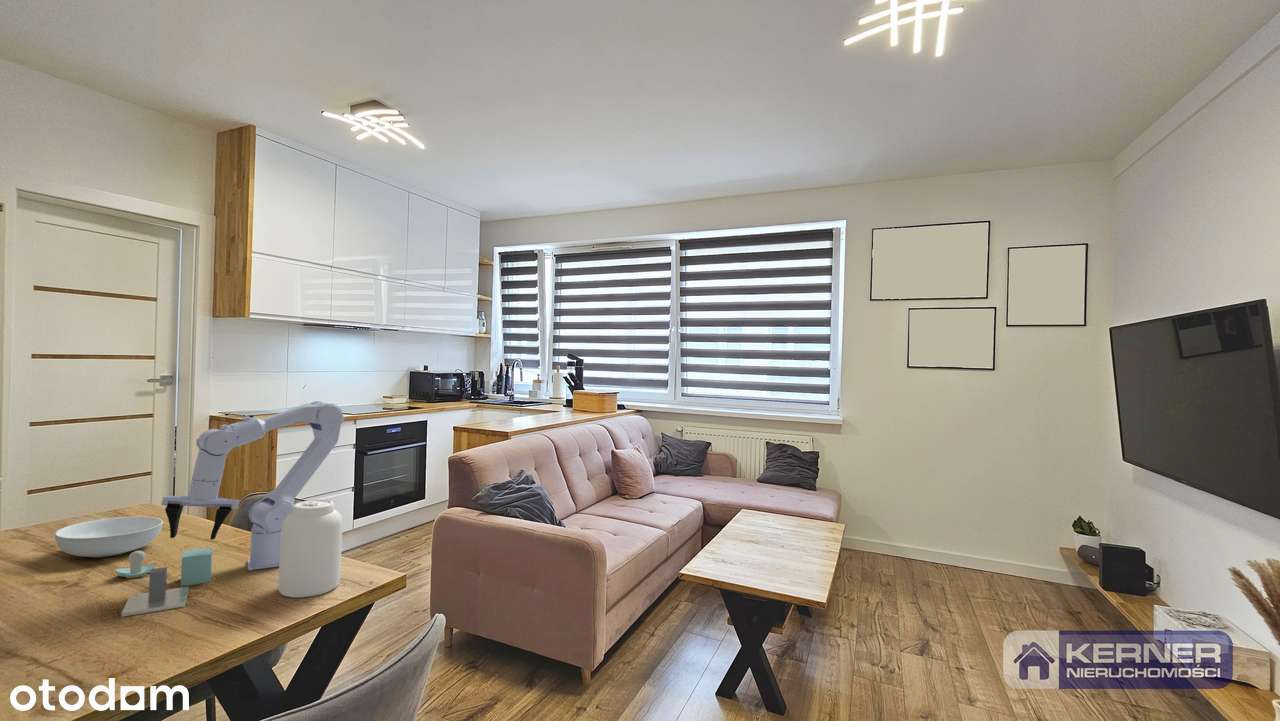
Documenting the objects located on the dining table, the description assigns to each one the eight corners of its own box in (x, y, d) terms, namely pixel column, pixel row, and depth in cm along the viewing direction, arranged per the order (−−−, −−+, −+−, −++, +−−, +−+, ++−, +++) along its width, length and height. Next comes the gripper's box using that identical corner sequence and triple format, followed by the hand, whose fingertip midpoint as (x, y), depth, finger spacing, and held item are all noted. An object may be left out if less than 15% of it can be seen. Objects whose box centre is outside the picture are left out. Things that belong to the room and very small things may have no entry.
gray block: (188, 590, 128) (190, 559, 128) (184, 606, 120) (186, 573, 120) (130, 598, 123) (131, 566, 123) (121, 616, 114) (123, 582, 114)
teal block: (211, 574, 138) (212, 547, 138) (210, 582, 133) (211, 554, 133) (182, 578, 134) (184, 550, 135) (180, 586, 130) (182, 557, 130)
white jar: (264, 593, 129) (269, 505, 129) (313, 574, 140) (317, 494, 140) (305, 603, 124) (309, 512, 124) (352, 583, 136) (355, 500, 136)
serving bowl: (174, 550, 153) (175, 524, 153) (67, 572, 135) (68, 543, 135) (145, 534, 164) (147, 511, 164) (43, 553, 146) (44, 527, 146)
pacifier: (115, 575, 135) (114, 582, 131) (117, 549, 135) (116, 555, 131) (155, 569, 140) (156, 575, 136) (157, 543, 140) (157, 549, 136)
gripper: (163, 479, 128) (149, 540, 127) (239, 484, 135) (226, 542, 133) (172, 475, 135) (158, 533, 133) (244, 480, 141) (232, 536, 139)
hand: (193, 537), depth 133 cm, fingers open, 7 cm apart
